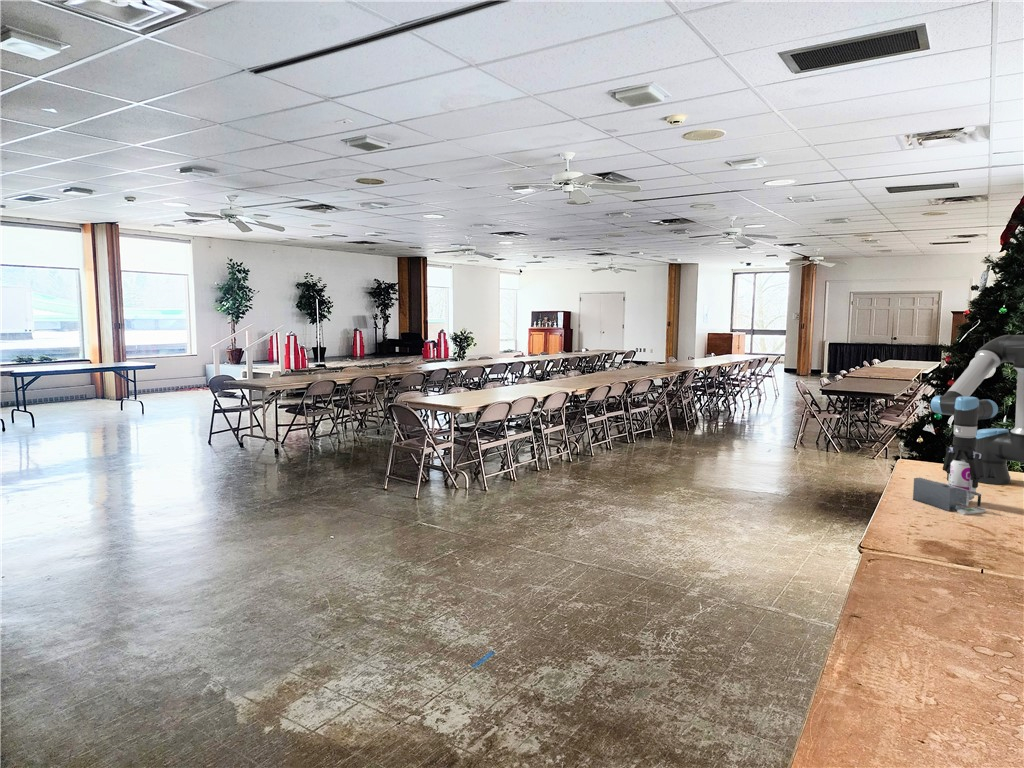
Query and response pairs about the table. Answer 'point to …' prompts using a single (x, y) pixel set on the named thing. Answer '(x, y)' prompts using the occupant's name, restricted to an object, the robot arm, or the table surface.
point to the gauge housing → (940, 496)
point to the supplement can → (960, 475)
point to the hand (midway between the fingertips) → (961, 492)
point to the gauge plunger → (964, 496)
